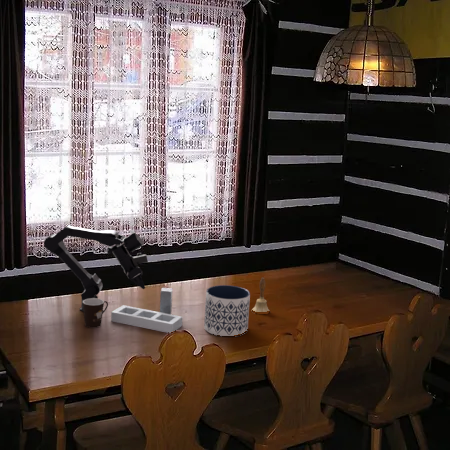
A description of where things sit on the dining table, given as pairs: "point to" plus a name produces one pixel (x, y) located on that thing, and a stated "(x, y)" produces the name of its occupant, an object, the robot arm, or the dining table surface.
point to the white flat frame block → (146, 319)
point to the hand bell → (261, 299)
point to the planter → (226, 310)
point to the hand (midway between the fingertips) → (143, 287)
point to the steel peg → (166, 300)
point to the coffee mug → (93, 311)
